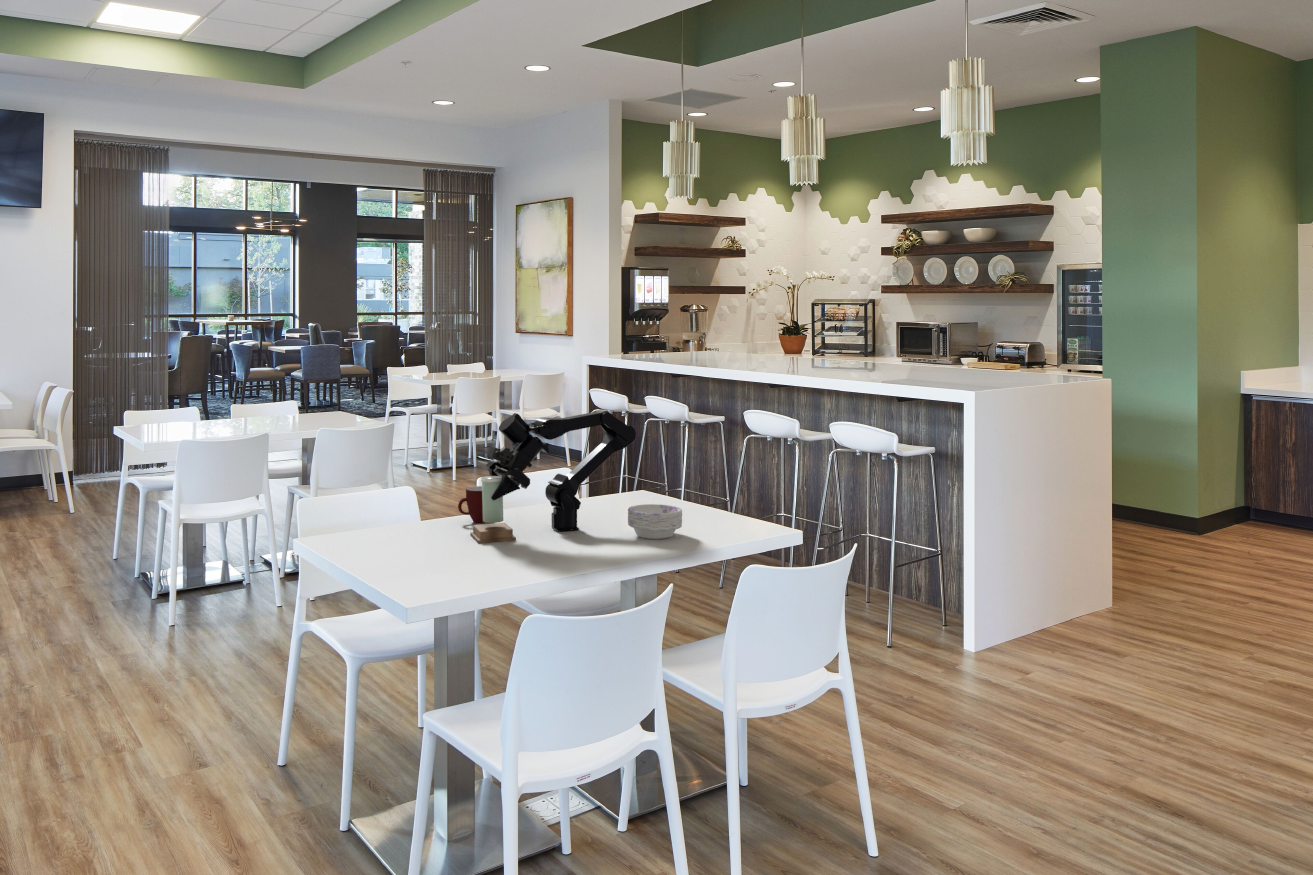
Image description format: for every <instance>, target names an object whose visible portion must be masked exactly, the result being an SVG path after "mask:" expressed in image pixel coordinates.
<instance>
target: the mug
mask: <svg viewBox="0 0 1313 875" xmlns="http://www.w3.org/2000/svg"><path fill="white" fill-rule="evenodd" d="M465 502H466V505H467V511H463V509H462V506H463V503H465ZM457 509H458V512H459V513H461V514H462V515H465V516H470V518H471V520H472V522H473V523H477V524H486V522H483V505H482V485H480V486H478V485H477V486H470V487H467V488H466V489H465V497H464V498H463V497H462V498H461V499H460V500H459V502H458V504H457Z"/></svg>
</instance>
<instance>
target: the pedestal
mask: <svg viewBox="0 0 1313 875" xmlns="http://www.w3.org/2000/svg"><path fill="white" fill-rule="evenodd" d="M472 528H473V529H472V531H471V532H470V537H471V538H472V539H473V540H474V541H475V542H476V543H477V544H487V543H489V544H490V543H501V542H513V541H517V537H516V536H515V535H514V532H513V531H514V529H513V528H512V527H511V526H510V525H508V524H507V522H497V523H481V524H473V525H472Z"/></svg>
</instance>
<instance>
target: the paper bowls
mask: <svg viewBox="0 0 1313 875" xmlns="http://www.w3.org/2000/svg"><path fill="white" fill-rule="evenodd" d="M627 525H628V526H629V527H630V528H633V529H634V532H635V535H637V536H638V537H639V538H643V539H646V538H647V539H648V540H665V539H669V538H671V537H672V536H674V534H675V533H676V530H678V529H681V528H682V526H683V509H682V508H681V507H679V506H675V505H671V504H663V503H662V504H661V503H660V504H659V503H656V504H655V503H643V504H642V503H641V504H636V505H635V504H634V505H631V506H629V507H628V508H627ZM647 539H646V540H647Z"/></svg>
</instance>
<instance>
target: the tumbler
mask: <svg viewBox="0 0 1313 875" xmlns="http://www.w3.org/2000/svg"><path fill="white" fill-rule="evenodd" d="M480 481H481V486H482V505H483V522H485V523H486V524H495V523H503V522H504V496H502V497H500V498H498V499H496V500H492V499H491V497H492V495H493V493H494V492H495V490H496V489H497V487H498V486H499V484H500V483H501V481H502V476H490V475H487V476H482V477H480Z"/></svg>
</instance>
